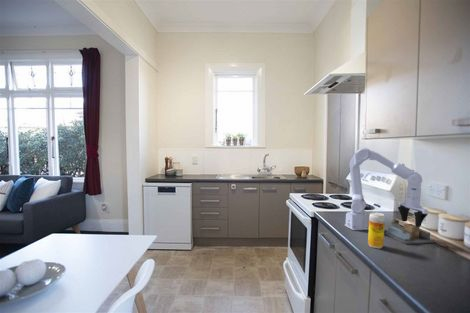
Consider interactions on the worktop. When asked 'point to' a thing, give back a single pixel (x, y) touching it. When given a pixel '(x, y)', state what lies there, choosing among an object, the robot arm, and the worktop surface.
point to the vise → (415, 238)
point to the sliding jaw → (399, 233)
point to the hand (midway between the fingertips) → (411, 223)
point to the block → (412, 230)
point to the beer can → (376, 230)
